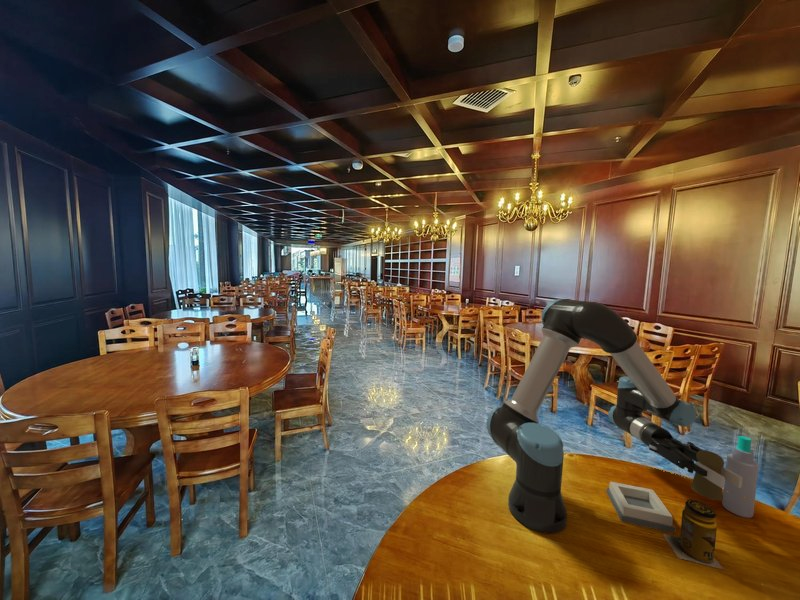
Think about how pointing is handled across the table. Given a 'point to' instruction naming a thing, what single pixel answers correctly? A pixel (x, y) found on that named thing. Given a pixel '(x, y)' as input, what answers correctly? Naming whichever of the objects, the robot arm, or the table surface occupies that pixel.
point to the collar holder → (640, 507)
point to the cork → (703, 484)
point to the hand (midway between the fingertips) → (731, 482)
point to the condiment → (696, 534)
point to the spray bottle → (748, 469)
